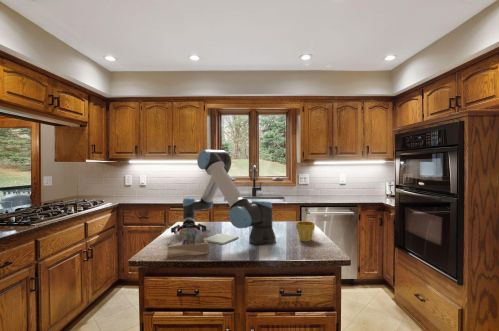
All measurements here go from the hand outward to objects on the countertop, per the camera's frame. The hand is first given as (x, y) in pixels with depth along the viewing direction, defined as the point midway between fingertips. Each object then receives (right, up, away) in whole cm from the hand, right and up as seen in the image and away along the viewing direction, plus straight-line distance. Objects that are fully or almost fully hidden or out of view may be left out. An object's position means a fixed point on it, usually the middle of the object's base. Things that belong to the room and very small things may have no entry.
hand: (188, 232), depth 154 cm
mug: (+2, -7, -9) cm, 12 cm away
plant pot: (+66, -6, +5) cm, 67 cm away
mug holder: (+2, -6, -9) cm, 12 cm away
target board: (+17, -6, +8) cm, 20 cm away
